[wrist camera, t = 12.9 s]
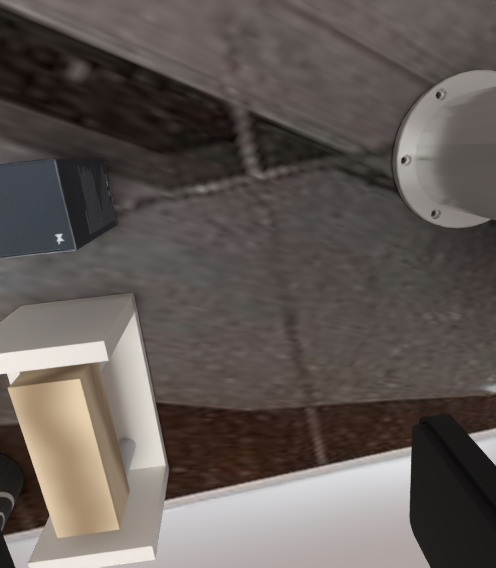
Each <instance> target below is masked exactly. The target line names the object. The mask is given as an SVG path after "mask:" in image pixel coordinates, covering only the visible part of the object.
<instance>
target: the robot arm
mask: <svg viewBox="0 0 496 568" xmlns="http://www.w3.org/2000/svg"><path fill="white" fill-rule="evenodd" d="M436 93H437V94H438V98H436ZM402 157H403V158H404V162H403V163H401V159H402ZM392 166H393V174H394V180H395V183H396V186H397V189H398V192H399V194H400V195H401V197H402V199H403V201H404V202H405V204H406V205H407V206H408V207H409V208H410V209H411V210H412V211H413V212H414V213H415V214H416V215H418V216H419V217H421V218H422V219H423V220H426V221H428V222H431V223H433V224H436V225H439V226H443V227H448V228H465V227H473V226H476V225H479V224H482V223H485V222H487V221H489V220H491V219H492V220H496V71H492V70H473V71H468V72H464V73H460V74H457V75H454V76H451V77H448V78H446V79H445V80H443V81H441V82H439V83H437V84H435V85H434V86H433V87H431V88H430V89H429V90H428V91H426V92H425V93H424V94H423V95H421V97H420V98H419V99H418V100H417V101H416V102H415V103H414V105H413V106H412V107H411V108H410V110H409V111H408V113H407V115H406V116H405V118H404V119H403V121H402V124H401V126H400V128H399V131H398V133H397V136H396V140H395V145H394V149H393V163H392ZM432 211H433V214H432V215H431V213H432ZM410 524H411V528H412V531H413V533H414V536H415V538H416V540H417V542H418V544H419V546H420V548H421V550H422V551H423V554H424V556H425V558H426V559H427V561H428V563H429V565H430V567H431V568H496V466H495V465H494V463H493V462H492V461H491V460H490V459H489V458H488V457H487V455H486V454H485V453H484V452H483V451H482V450H481V449H480V448H479V446H478V445H477V444H476V443H475V442H474V441H473V440H472V439H471V437H470V436H469V435H468V434H467V433H466V432H465V431H464V430H463V428H462V427H461V426H460V425H459V424H458V423H457V422H456V421H455V419H454V418H453V417H452V416H450V415H449V414H440V415H433V416H425V417H421V418H420V420H419V424H418V425H414V426H413V429H412V455H411V487H410ZM0 568H15V566H14V563H13V560H12V558H11V555H10V553H9V550H8V547H7V545H6V542H5V540H4V537H3V534H2V532H1V529H0Z"/></svg>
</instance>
